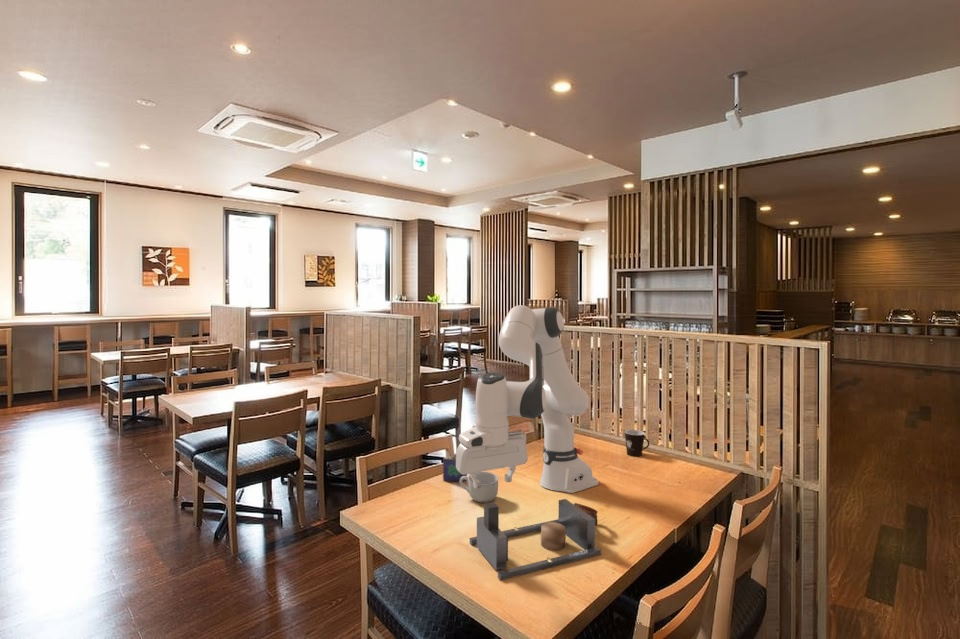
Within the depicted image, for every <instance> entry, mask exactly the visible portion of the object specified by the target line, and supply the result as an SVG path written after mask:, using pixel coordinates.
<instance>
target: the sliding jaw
mask: <svg viewBox="0 0 960 639" xmlns="http://www.w3.org/2000/svg"><path fill="white" fill-rule="evenodd" d="M499 509H500V508H499V505H498V504H496V503H495V502H486V503H483V516H479V517H476V537H477V544H476V548H477V549H478V551H480V553H481V554H482V555H483V557H485V559H486V560H487V561H488V563H490V565H491V566H492V567H493V568H494V570H496V571H501V570H505V569H508V568H507V564H508V563H507V562H509V557H508V556H509V537H508V538H507V536H506V535H505V534H504V533H503V532H502V531H503V530H501V529H500V528H499V525H500V524H499V522H500V520H499V514H500V513H499V511H500V510H499Z"/></svg>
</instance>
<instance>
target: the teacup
mask: <svg viewBox="0 0 960 639" xmlns="http://www.w3.org/2000/svg"><path fill="white" fill-rule="evenodd" d="M475 478H476V479H478V480H479V481H481V484H480V485H481V487H480V488H474V487H473V480H472V478H471V477H470V475H469V476H468V475H467V476H462V477H461V478H460V481H459V482H458V483H459V484H460V487H462V488H463V489H464V490H466V492H467V493H468V494H469V496H470V498H471V499H472V500H474V501H475V502H477V503H480V504H481V503H483V504H487V503H491V501H492V500H495V499H496V497H497V495H498V493H499V492H498V491H499V476H498V475H497V474H496V473H493V472H490V471H482V472H477V476H475ZM463 479H466V480H467V481H466V482H467V485H468V486H466V485H465V483H464V482H462V480H463Z"/></svg>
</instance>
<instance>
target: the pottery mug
mask: <svg viewBox="0 0 960 639" xmlns="http://www.w3.org/2000/svg"><path fill="white" fill-rule="evenodd" d="M573 504H574V505H575V506H577V507H578V508H580V509H581V510H582V511H584V512H585V513H587V514H588V515H590V516H591V517H593V518H594V519H595V526H597V525H598V517H599V516H598V510H596V509H595V508H593V507H590V506H587V505H585V504H581V503H578V502H577V503H576V502H575V503H573Z"/></svg>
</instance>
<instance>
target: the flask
mask: <svg viewBox="0 0 960 639" xmlns="http://www.w3.org/2000/svg"><path fill="white" fill-rule="evenodd" d="M456 453H457V452H456ZM456 453H453V455H452V456H450V455H448V456H444V457H443V460H442V468H443V469H442V471H443V473H442V474H443V476H442V480H443V482H445V483H446V482H447V483H448V482H449V483H460V482H459V481H460V478H461V477H462V476H467V477H468V474H465V475H463V474H461V473H460V472H459V471H458V470H457V469H456ZM462 482H463V483H464V482H465V483H466V482H467V480H466V479H463V480H462Z"/></svg>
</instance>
